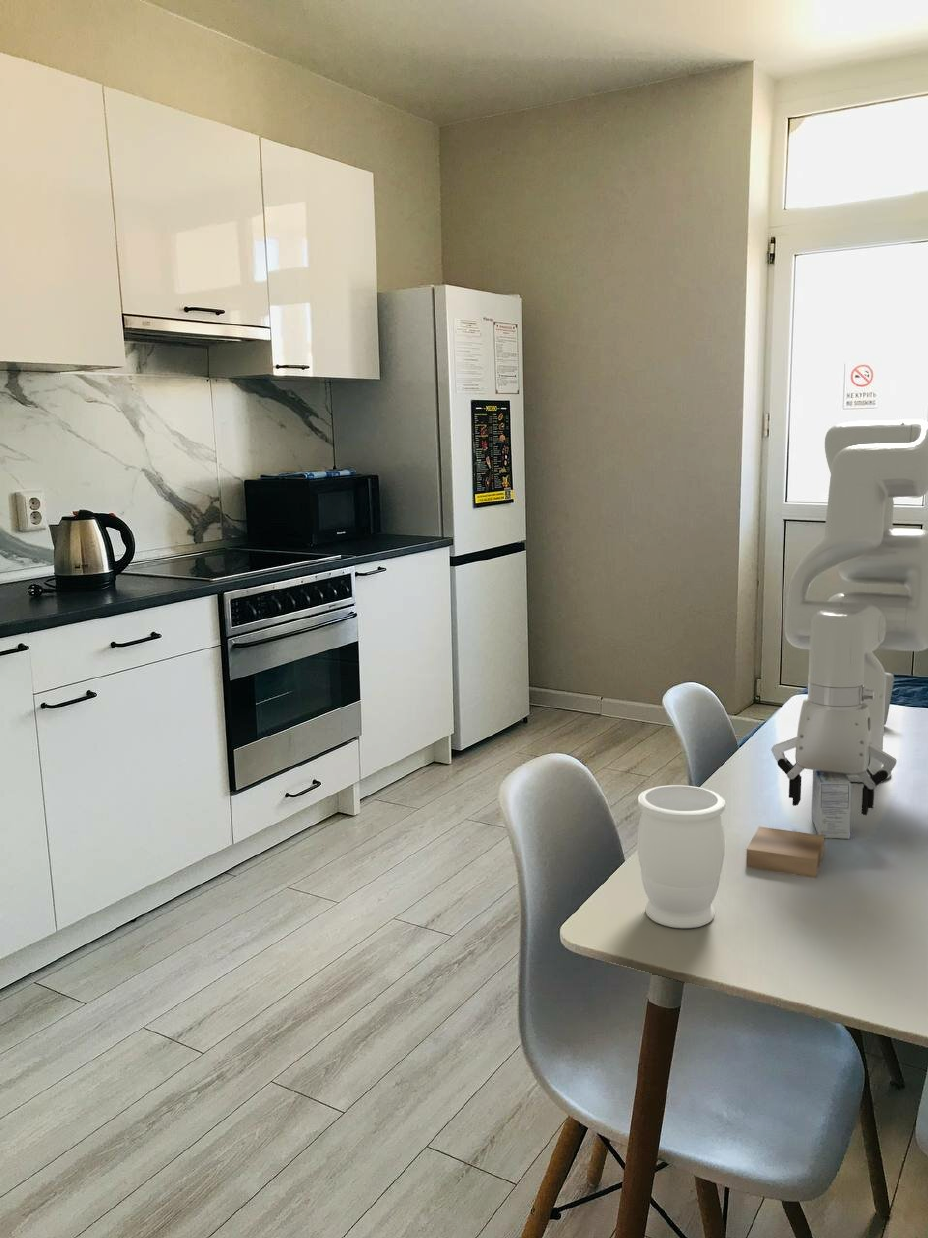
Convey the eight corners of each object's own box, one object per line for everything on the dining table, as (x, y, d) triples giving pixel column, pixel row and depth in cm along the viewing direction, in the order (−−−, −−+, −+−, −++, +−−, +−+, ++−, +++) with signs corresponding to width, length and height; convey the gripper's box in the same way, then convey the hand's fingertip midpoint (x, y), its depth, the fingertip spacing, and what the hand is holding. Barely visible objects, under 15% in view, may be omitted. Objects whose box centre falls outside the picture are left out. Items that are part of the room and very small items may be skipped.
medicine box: (850, 840, 146) (852, 783, 144) (817, 838, 147) (820, 781, 145) (841, 820, 154) (843, 766, 152) (810, 819, 154) (812, 764, 153)
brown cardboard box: (758, 846, 146) (758, 826, 145) (824, 855, 142) (824, 835, 141) (746, 869, 138) (746, 849, 137) (815, 880, 134) (816, 859, 133)
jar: (706, 942, 117) (708, 819, 115) (623, 922, 123) (624, 804, 120) (734, 906, 126) (737, 792, 124) (655, 889, 132) (657, 778, 129)
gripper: (901, 694, 146) (895, 808, 149) (778, 684, 154) (774, 792, 156) (897, 706, 139) (891, 824, 142) (769, 694, 147) (765, 807, 150)
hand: (830, 807), depth 149 cm, fingers open, 9 cm apart
